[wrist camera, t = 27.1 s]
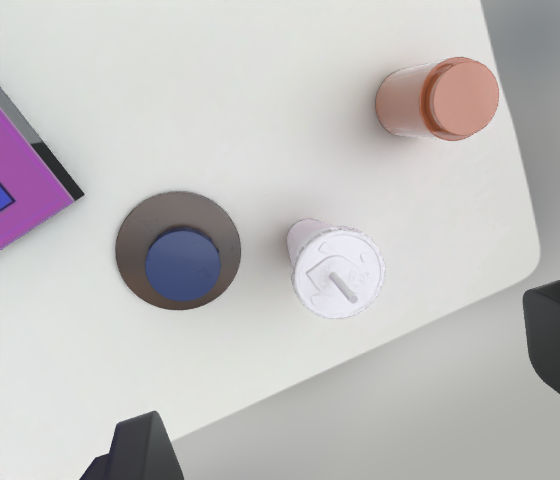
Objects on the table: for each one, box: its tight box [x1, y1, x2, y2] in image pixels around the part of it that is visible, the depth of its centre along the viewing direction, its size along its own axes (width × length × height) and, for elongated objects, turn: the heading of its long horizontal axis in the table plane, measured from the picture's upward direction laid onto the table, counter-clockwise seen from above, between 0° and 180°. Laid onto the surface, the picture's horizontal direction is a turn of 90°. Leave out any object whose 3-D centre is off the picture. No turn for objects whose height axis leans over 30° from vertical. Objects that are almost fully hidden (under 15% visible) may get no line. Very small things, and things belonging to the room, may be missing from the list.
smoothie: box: [287, 219, 385, 319], centre depth 34 cm, size 6×6×14 cm
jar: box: [376, 57, 499, 141], centre depth 35 cm, size 5×5×9 cm
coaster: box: [116, 191, 241, 310], centre depth 39 cm, size 10×10×1 cm
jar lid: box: [145, 226, 221, 301], centre depth 38 cm, size 6×6×2 cm
